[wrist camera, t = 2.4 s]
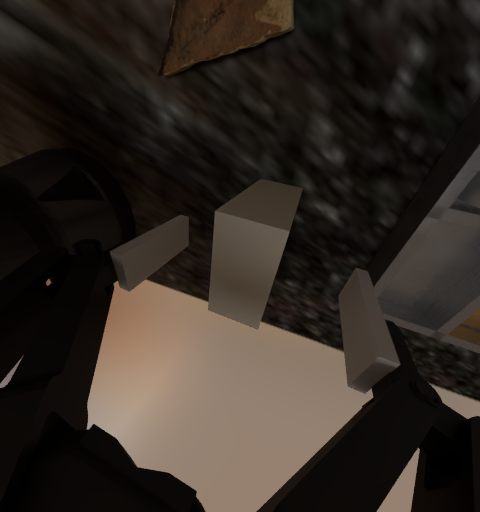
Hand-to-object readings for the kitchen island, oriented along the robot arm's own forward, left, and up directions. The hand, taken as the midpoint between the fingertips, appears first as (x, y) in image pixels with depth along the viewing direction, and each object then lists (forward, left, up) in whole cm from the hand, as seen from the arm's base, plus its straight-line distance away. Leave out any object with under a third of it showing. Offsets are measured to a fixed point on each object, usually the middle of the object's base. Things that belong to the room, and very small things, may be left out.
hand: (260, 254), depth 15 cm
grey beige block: (0, 0, -6) cm, 6 cm away
